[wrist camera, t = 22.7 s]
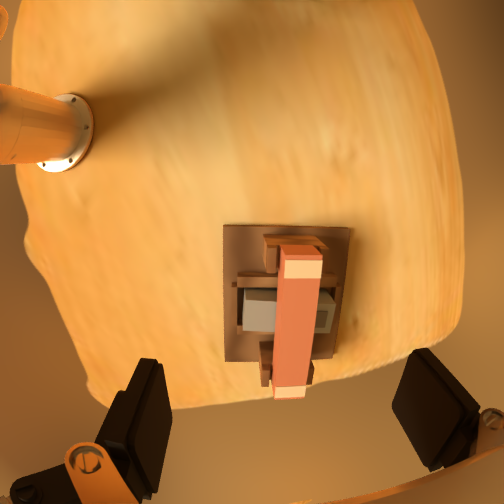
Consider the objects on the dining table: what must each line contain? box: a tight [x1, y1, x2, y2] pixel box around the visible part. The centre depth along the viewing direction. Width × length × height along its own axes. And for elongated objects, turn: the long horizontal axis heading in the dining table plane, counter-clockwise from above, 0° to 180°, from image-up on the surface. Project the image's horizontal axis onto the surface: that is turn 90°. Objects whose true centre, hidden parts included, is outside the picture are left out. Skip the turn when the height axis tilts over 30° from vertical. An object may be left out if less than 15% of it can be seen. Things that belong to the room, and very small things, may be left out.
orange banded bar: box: [271, 245, 323, 400], centre depth 36 cm, size 4×20×5 cm, turn 179°
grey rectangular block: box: [242, 287, 336, 333], centre depth 41 cm, size 12×4×6 cm, turn 85°
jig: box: [223, 225, 350, 387], centre depth 41 cm, size 18×22×9 cm
